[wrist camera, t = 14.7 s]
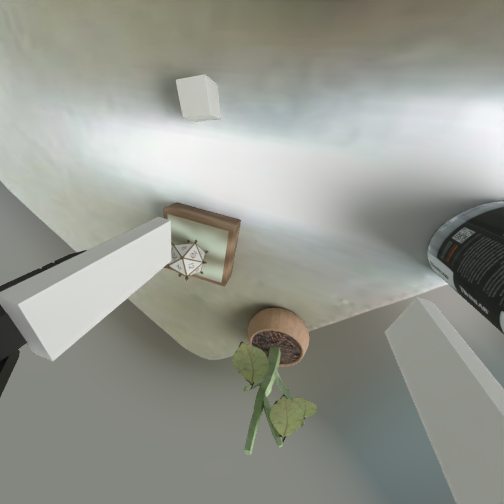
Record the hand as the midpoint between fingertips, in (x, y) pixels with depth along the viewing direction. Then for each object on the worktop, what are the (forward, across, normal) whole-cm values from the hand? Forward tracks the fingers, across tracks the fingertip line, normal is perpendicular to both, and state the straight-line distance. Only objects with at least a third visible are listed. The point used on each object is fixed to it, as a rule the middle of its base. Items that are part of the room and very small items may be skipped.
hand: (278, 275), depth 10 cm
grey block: (+32, -20, +9) cm, 39 cm away
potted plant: (+31, +7, -37) cm, 49 cm away
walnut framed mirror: (+31, -18, -19) cm, 41 cm away
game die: (+26, -17, -19) cm, 37 cm away
